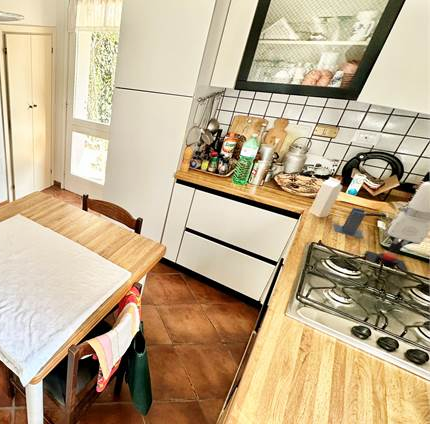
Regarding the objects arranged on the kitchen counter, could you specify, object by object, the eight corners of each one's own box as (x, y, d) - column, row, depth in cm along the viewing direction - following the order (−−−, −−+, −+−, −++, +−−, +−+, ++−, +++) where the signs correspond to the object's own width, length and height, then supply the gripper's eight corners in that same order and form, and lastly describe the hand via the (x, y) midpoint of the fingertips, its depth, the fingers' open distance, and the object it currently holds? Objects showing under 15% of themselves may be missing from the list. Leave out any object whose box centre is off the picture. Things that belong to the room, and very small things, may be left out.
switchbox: (400, 264, 132) (406, 257, 130) (405, 276, 125) (411, 269, 123) (363, 254, 138) (368, 247, 136) (366, 265, 131) (371, 257, 129)
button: (393, 258, 130) (395, 254, 129) (394, 262, 127) (397, 258, 126) (381, 254, 132) (384, 251, 131) (383, 258, 129) (385, 255, 128)
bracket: (360, 232, 154) (373, 210, 148) (362, 240, 148) (376, 217, 141) (332, 225, 160) (344, 204, 154) (333, 232, 153) (345, 210, 147)
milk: (317, 218, 166) (336, 181, 155) (307, 213, 171) (325, 177, 160) (327, 217, 167) (346, 180, 156) (316, 212, 172) (334, 176, 162)
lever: (388, 216, 144) (389, 211, 143) (390, 220, 140) (391, 215, 140) (352, 213, 151) (353, 209, 151) (353, 217, 148) (354, 213, 147)
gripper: (394, 210, 120) (369, 248, 129) (449, 223, 112) (419, 262, 121) (390, 204, 125) (367, 240, 134) (443, 215, 117) (415, 253, 126)
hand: (392, 251), depth 128 cm, fingers closed
